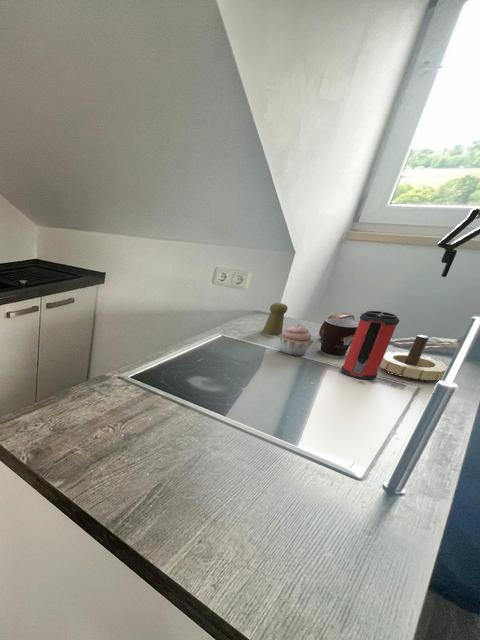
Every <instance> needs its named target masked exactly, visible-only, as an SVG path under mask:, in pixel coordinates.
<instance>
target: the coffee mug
mask: <svg viewBox="0 0 480 640" xmlns="http://www.w3.org/2000/svg"><path fill="white" fill-rule="evenodd" d="M324 321H325V326H324V332H323V337H321V344H320V349H319V351H320V352H322V353H323V354H326V355H330V356H335V357H342V356H346V355H347V353H348V351H349V349H350V346H351V343H352V340H353V338H354V335H355V332H356V329H357V327H358V324H359V322H356V321H355V320H354V321H350V320H344V319H327V318H326V319H325V320H324Z"/></svg>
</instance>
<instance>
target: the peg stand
mask: <svg viewBox="0 0 480 640" xmlns="http://www.w3.org/2000/svg"><path fill="white" fill-rule="evenodd" d="M429 339H430V336H428V335H424V334H417V335H416V336H415V338H414V341H413V343H412V345H411V348H410V351H409V352H408V353H409V355H408V357H407V359H406V361H405V364H407V365H412V366H417V363H418V361H419V359H420V357H421V355H422V354H423V352H424V350H425V348H426V346H427V343H428V342H429ZM422 356H423V355H422ZM417 367H418V366H417ZM387 372H389V373H393V372H390V371H387ZM389 373H387V374H388V375H390V374H389ZM394 374H395V373H393V374H392V375H394ZM394 376H395V375H394ZM396 376H398V377H400V376H399V375H398V374H397V375H396ZM401 377H403V376H401ZM403 378H404V377H403ZM406 378H407V379H412V380H416V381H422V379H419V378H418V379H415V378H414V379H413V378H411V377H410V378H408V377H406ZM428 381H429V380H423V381H422V382H426V383H427V382H428Z"/></svg>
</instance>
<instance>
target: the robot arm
mask: <svg viewBox="0 0 480 640" xmlns="http://www.w3.org/2000/svg"><path fill="white" fill-rule="evenodd" d="M477 219H480V208H477V207H475V208H472V209H471V210H470V212H469V213H468V215H467V217H466V218H465V219H464V220H462V221H461V222H460V223H459V224H458V225H457V226H456V227H454V228H453V229H452V230H451V231H450V232H449V233H448V234H447V235H445V236H444V237H443V238H442V239H441V240H439V241H438V242H437V247H438V248H441V249H444V253H443V255H442V258H441V263H442V264H445V265H444V267H443V270H442V273H441V277H442V278H447V277H448V274H449V271H450V270H451V267H452V265H453V262H454V260H455V257H456V255H457V252H458V250H457V248H459V247H460V246H462V245H463V244H465V243H467V242H469V241H471V240H472V239H474V238H476V237H477V236H479V235H480V226H478V227H477V228H475V229H472V231H470V232H468V233H466V234H464V235H463V236H461V237H460V238H457V239H456V240H454V241H453V242H451V241H452V240H453V239H454V238H455V237H457V236H458V235H459V234H460V233H461V232H462V231H463V230H465V229H466V228H467V227H468V226H470V225H471V223H473V222H474V220H477Z"/></svg>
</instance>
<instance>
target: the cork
mask: <svg viewBox="0 0 480 640" xmlns="http://www.w3.org/2000/svg"><path fill="white" fill-rule="evenodd" d="M288 309H289V308H288V305H287V304H286V303H282V302H274V303H272V304H271V305H270V306H269V311H270V313H269V315H268V318H267V321H266V323H265V325H264V327H263V329H262V333H263V334H265V335H270V336H280V335H282V332H283V328H284V319H285V314H286V313H287V312H288Z"/></svg>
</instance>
